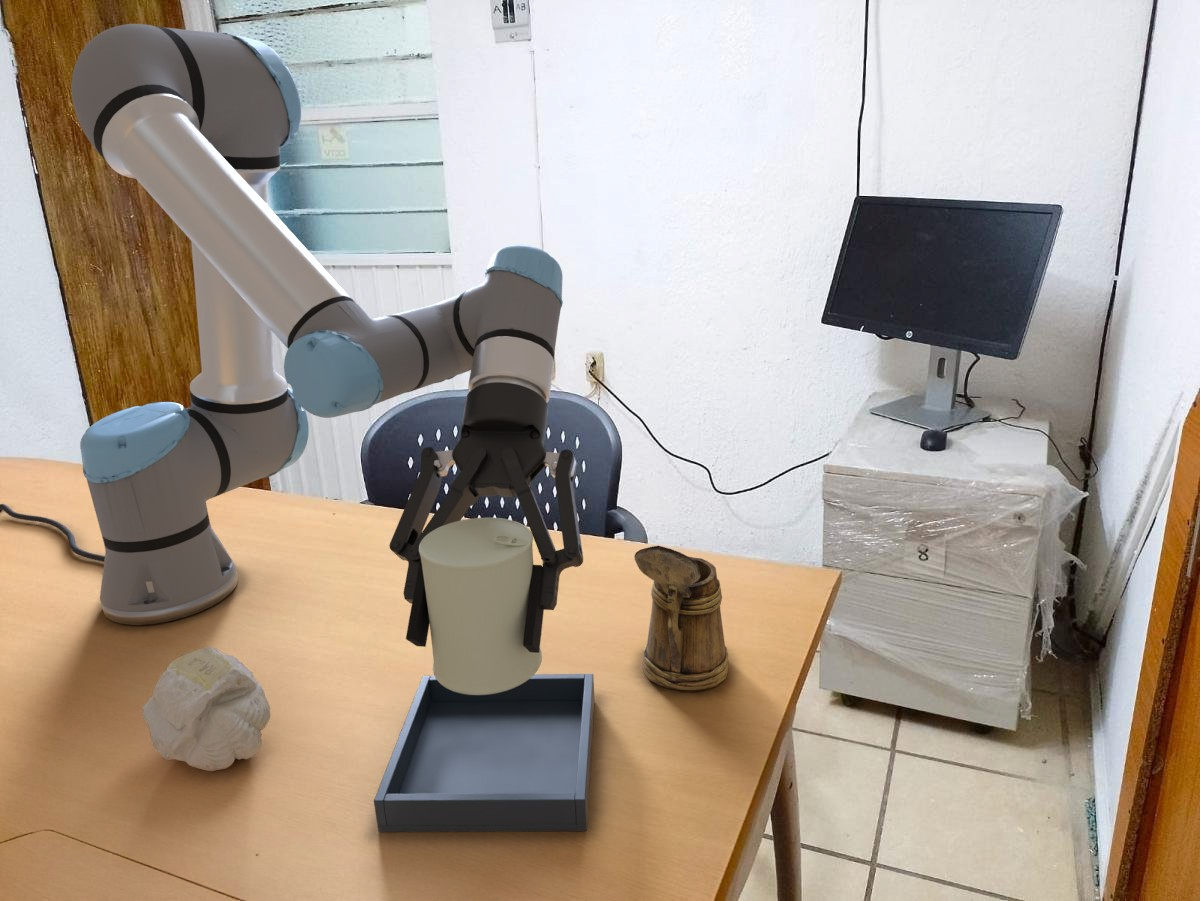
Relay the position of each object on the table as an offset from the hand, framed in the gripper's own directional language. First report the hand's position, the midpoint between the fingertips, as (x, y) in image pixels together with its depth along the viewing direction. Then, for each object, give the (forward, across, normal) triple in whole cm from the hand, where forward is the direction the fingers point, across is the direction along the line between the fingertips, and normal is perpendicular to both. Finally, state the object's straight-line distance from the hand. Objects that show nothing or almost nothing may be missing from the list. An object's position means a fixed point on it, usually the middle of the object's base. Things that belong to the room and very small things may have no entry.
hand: (472, 645), depth 66 cm
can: (+1, 0, -5) cm, 5 cm away
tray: (+8, 0, -11) cm, 14 cm away
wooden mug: (-2, -15, -21) cm, 26 cm away
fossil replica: (+8, +26, -11) cm, 30 cm away
